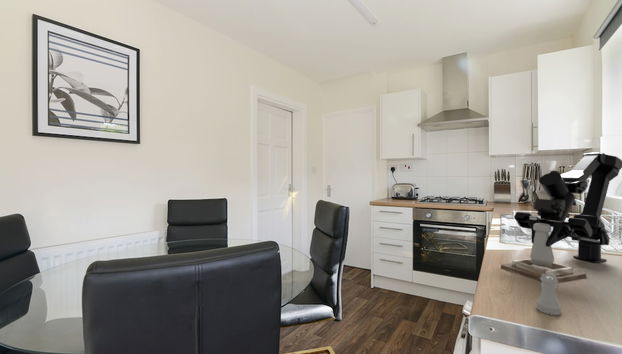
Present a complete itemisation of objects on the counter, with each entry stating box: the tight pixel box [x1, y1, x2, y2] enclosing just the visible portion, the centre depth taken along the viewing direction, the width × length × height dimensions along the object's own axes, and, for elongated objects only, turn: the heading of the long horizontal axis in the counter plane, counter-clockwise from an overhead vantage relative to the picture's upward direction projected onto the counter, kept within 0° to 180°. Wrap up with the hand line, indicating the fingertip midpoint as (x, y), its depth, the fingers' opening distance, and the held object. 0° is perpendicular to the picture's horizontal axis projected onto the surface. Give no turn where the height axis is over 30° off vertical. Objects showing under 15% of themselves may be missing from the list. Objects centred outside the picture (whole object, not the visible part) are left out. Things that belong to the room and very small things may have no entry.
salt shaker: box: [529, 223, 555, 267], centre depth 88 cm, size 6×6×13 cm
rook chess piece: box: [535, 274, 563, 316], centre depth 63 cm, size 4×4×8 cm
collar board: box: [500, 258, 587, 283], centre depth 88 cm, size 16×14×2 cm
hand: (539, 244), depth 87 cm, fingers closed on salt shaker, 3 cm apart
